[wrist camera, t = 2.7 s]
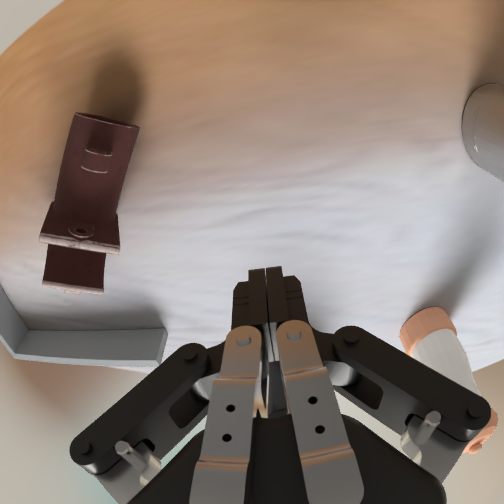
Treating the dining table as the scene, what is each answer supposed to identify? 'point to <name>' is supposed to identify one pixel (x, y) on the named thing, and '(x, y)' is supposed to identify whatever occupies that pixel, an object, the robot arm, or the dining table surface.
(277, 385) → the supplement bottle
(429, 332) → the pepper shaker
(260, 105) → the dining table surface
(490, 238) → the dining table surface
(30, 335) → the angled bar
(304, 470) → the robot arm
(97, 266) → the bracket
